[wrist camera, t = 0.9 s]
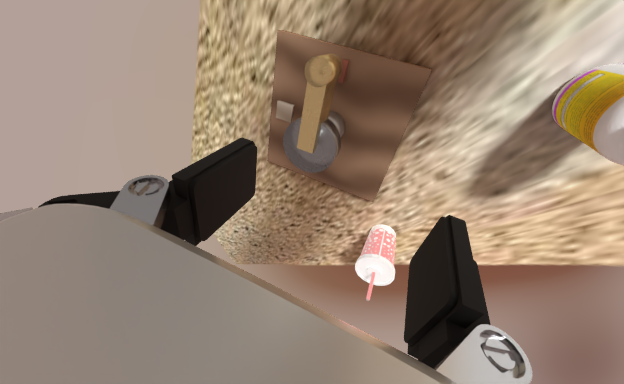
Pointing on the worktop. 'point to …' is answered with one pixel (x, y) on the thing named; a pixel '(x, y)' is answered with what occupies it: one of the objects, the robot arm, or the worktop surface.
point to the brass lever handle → (315, 118)
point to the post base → (347, 109)
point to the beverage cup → (377, 257)
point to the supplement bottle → (595, 110)
